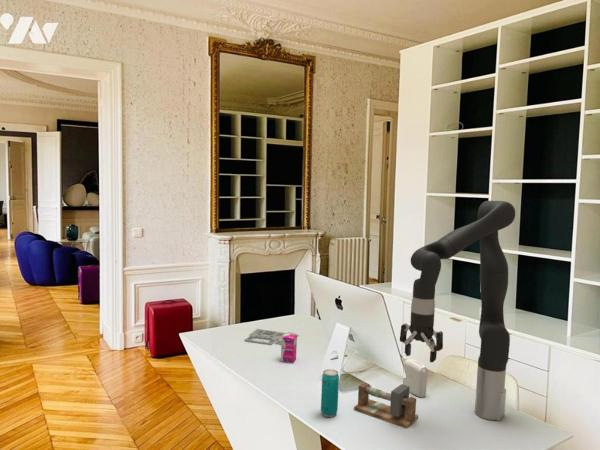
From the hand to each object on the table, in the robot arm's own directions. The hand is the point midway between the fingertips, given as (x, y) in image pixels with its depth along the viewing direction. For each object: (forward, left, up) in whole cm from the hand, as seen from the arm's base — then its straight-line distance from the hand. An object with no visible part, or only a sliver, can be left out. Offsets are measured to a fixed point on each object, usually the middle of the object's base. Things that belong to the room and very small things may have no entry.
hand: (419, 358), depth 164 cm
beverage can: (+26, +14, -23) cm, 37 cm away
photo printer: (+11, -23, -23) cm, 34 cm away
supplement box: (+68, -17, -23) cm, 74 cm away
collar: (+6, +1, -20) cm, 21 cm away
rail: (+11, +1, -22) cm, 25 cm away
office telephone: (+94, -36, -23) cm, 103 cm away
